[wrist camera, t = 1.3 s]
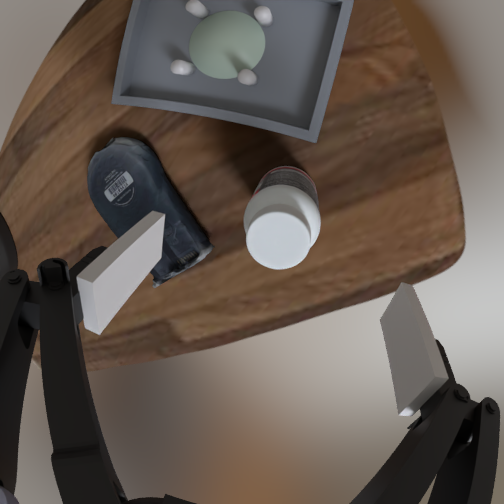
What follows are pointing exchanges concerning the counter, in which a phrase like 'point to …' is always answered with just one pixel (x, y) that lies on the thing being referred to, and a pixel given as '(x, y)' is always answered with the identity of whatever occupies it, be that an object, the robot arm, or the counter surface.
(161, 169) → the electronic device
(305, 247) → the pill bottle
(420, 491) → the robot arm
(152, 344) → the counter surface
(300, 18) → the tray
